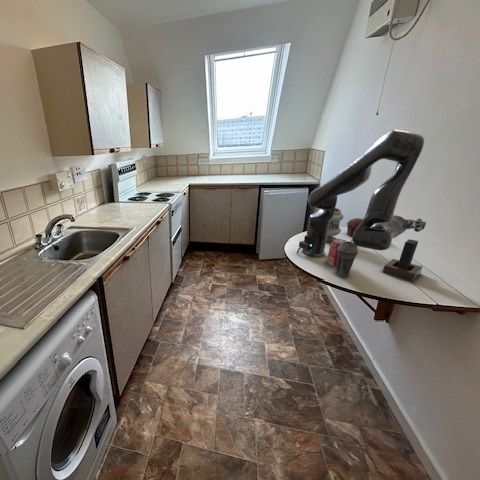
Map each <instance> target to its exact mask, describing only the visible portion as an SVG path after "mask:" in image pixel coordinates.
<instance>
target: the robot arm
mask: <svg viewBox="0 0 480 480" xmlns="http://www.w3.org/2000/svg"><path fill="white" fill-rule="evenodd" d="M424 145H425V138H424V136H423V135H422V134H418V133H415V132H411V131H406V130H402V129H391V130H389V131H387V132H385V133H384V134H382V135H381V136H380V137H379V138H378V139H376V141H375V142H374V143H373V144H372V145H370V147H369V148H367V149H366V150H365V151H364V152H363V153H361V154H360V155H359V157H357V158H356V159H355V160H353V161H352V162H350V163H349V165H347V166H346V167H344V168H343V169H342V170H340V171H339V172H338V173H337V174H336V175H335V176H333V177H331V179H329V180H328V181H327V182H326V183H324V184H322V185H320V186H319V187H317V188H315V189H313V190H312V191H311V192H310V194H309V195H308V199H307V204H308V206H309V207H310V208H311V209H314V210H315V209H316V210H317V211H316V212H313V213H311V214H310V216H309V218H308V223H307V229H306V234H305V235H304V240H300V241H299V242H298V249H297V251H296V254H300V253H299V252H300V250H301V249H302V250H301V252H302V253H303V254H306V255H308V256H310V257H322V256H324V255H325V250H326V245H327V242H326V240H327V235H328V231H329V226H330V221H331V219H332V217H333V214H334V211H335V208H337V207H336V206H337V203H338V196H340V195H344V194H347V193H349V192H352V191H354V190H356V189H358V188H359V187H361V186H362V185H364V184H365V183H367V182H368V180H369V179H370V176H371V174H372V167H373V165H375V164H376V163H377V162H379V161H380V160H387V161H392V162H396V165H395V168H394V171H393V172H392V174H391V175H390V176H389V177H388V179H386V180H385V181H384V182H383V183H382V184H380V186H379V187H377V188H376V189H375V191H374V192H373V193H372V195H371V197H370V199H369V202H368V205H367V210H366V212H365V215H364V216H363V218H362V219H363V220H362V221H361V223H360V224H359V226H358V227H357V229H356V230H355V232H354V233H353V236H352V237H351V240H352V243H354V245H356V246H357V248H364V249H370V250H375V251H386V250H388V249H389V248H390V247H391V245H392V242H393V239H395V238H397V237H398V236H400V235H402V234H403V233H405V232H406V231H407V230H411V229H413V230H414V232H417V233H418V232H421V231H423V230H424V229H425V228H426V224H427V222H426V221H423V219H422V218H416V220H415V219H413V218H404V217H402V216H400V215H396V214H394V213H395V210H396V207H397V203H398V200H399V198H400V195H401V192H402V190H403V188H404V187H405V184H406V182H407V180H408V179H409V177H410V175H411V173H412V172H413V169H414V168H415V165H416V164H417V161H418V159H419V157H420V156H421V153H422V152H423V149H424Z"/></svg>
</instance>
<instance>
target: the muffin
mask: <svg viewBox="0 0 480 480" xmlns="http://www.w3.org/2000/svg"><path fill="white" fill-rule="evenodd" d="M362 220H363V218H358V217H357V218H352V219H349V220H348V221H347V222H346V226H347V229H346V230H347V231H346V235H347V236H348V237H351V238H352V236H353V233H354V232H355V230H356V229H357V227H358V226H359V224H360V223H361V221H362Z"/></svg>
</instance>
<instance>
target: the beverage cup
mask: <svg viewBox="0 0 480 480" xmlns="http://www.w3.org/2000/svg"><path fill="white" fill-rule="evenodd" d="M358 249H359V248H358V246H356V245H354V243H353V241H352V239H350V241H347V242H343V243H342V244H340V245H339V247H338V249H337V250H338V257H337V265H336V267H335V275H336V276H338V277H340V278H347V277H348V276H349V274H350V272H351V269H352V267H353V265H354V261H355V259H356V258H357V255H358V254H359V252H358V251H359V250H358Z"/></svg>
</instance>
